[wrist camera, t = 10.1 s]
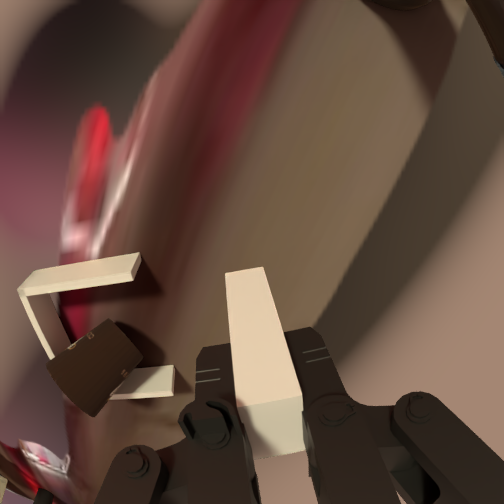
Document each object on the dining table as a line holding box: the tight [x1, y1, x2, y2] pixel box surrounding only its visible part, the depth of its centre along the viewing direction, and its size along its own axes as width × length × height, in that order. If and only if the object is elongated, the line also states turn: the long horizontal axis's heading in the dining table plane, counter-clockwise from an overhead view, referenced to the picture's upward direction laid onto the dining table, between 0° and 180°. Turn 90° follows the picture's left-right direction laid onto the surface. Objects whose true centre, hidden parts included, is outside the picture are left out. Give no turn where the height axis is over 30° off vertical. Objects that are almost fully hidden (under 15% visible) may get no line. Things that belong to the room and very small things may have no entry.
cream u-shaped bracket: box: [17, 253, 175, 400], centre depth 36 cm, size 15×18×5 cm
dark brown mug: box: [46, 318, 144, 417], centre depth 35 cm, size 12×9×10 cm
